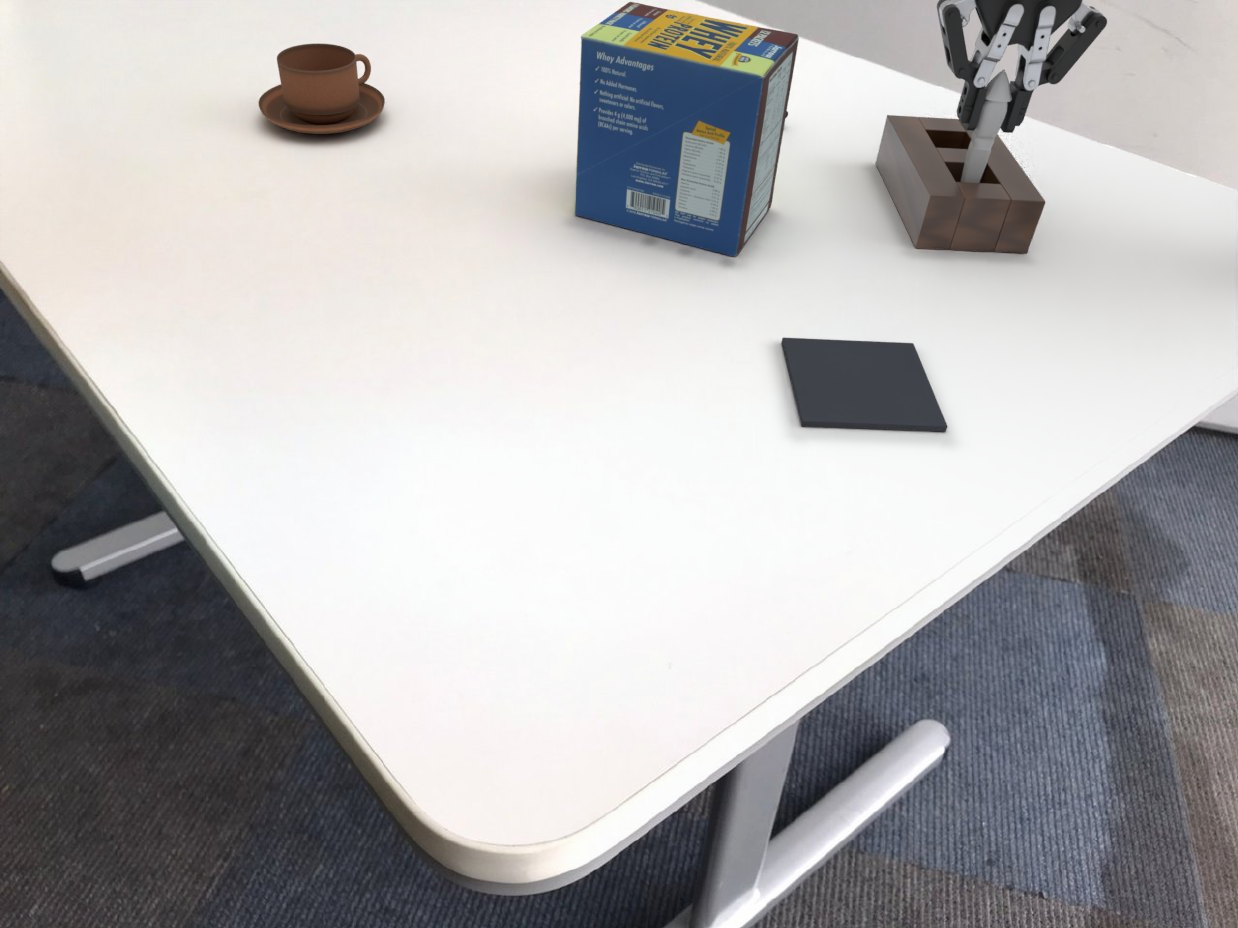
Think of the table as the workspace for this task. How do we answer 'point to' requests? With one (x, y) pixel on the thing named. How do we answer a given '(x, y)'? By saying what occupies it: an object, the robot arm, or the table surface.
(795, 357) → the mat
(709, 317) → the table surface
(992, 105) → the pen
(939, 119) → the pen stand
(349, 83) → the cup and saucer
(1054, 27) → the robot arm
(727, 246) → the protein box
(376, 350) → the table surface
